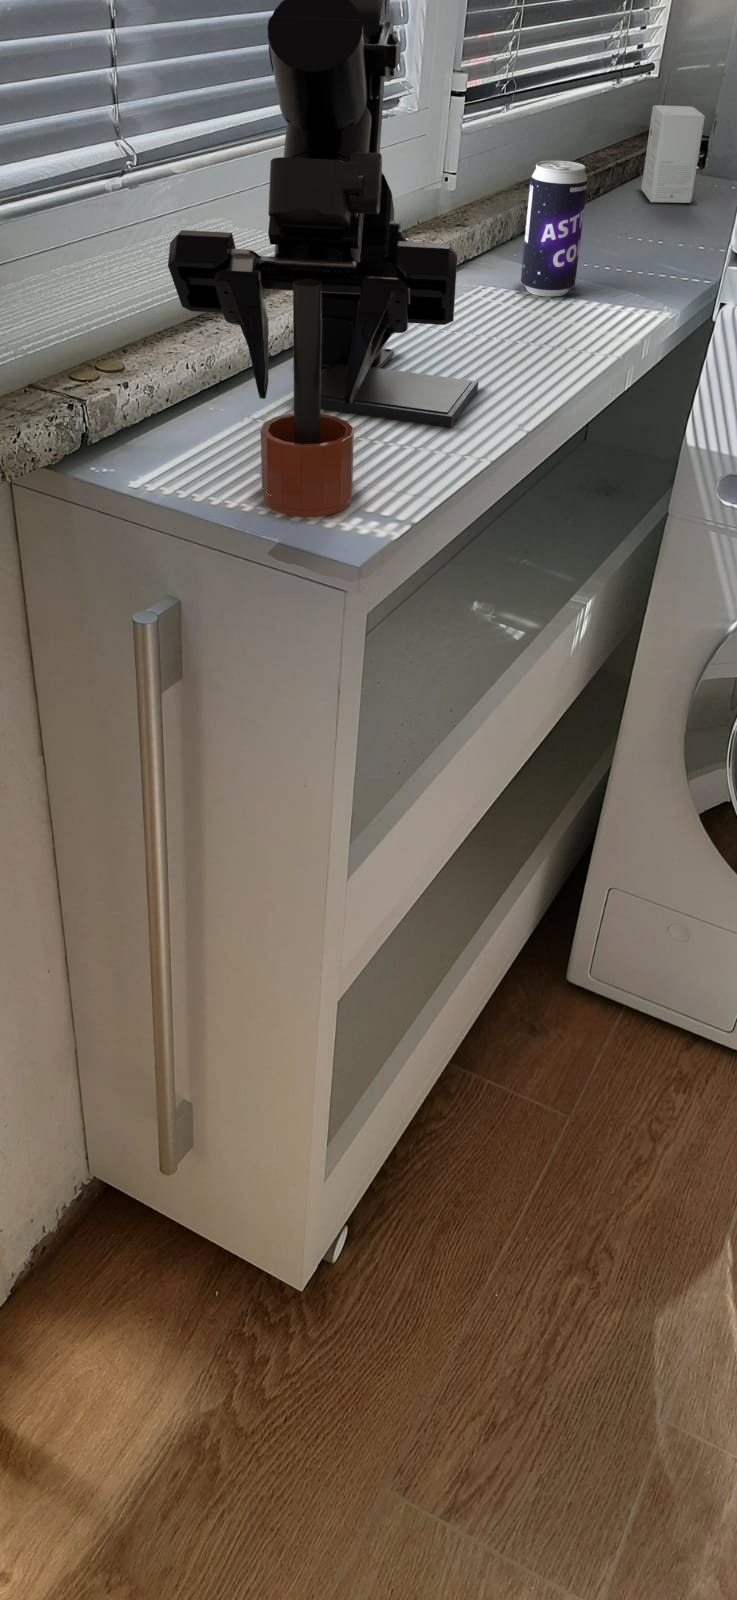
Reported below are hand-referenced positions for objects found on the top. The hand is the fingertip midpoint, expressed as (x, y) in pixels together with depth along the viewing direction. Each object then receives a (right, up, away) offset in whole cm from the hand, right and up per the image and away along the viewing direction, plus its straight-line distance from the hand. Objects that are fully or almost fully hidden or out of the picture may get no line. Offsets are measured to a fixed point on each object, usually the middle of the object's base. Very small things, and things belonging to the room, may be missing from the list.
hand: (304, 398), depth 83 cm
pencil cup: (0, -5, +6) cm, 8 cm away
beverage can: (+23, +27, +50) cm, 61 cm away
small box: (+45, +55, +88) cm, 113 cm away
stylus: (0, -5, +5) cm, 7 cm away
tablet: (+6, +7, +22) cm, 24 cm away
